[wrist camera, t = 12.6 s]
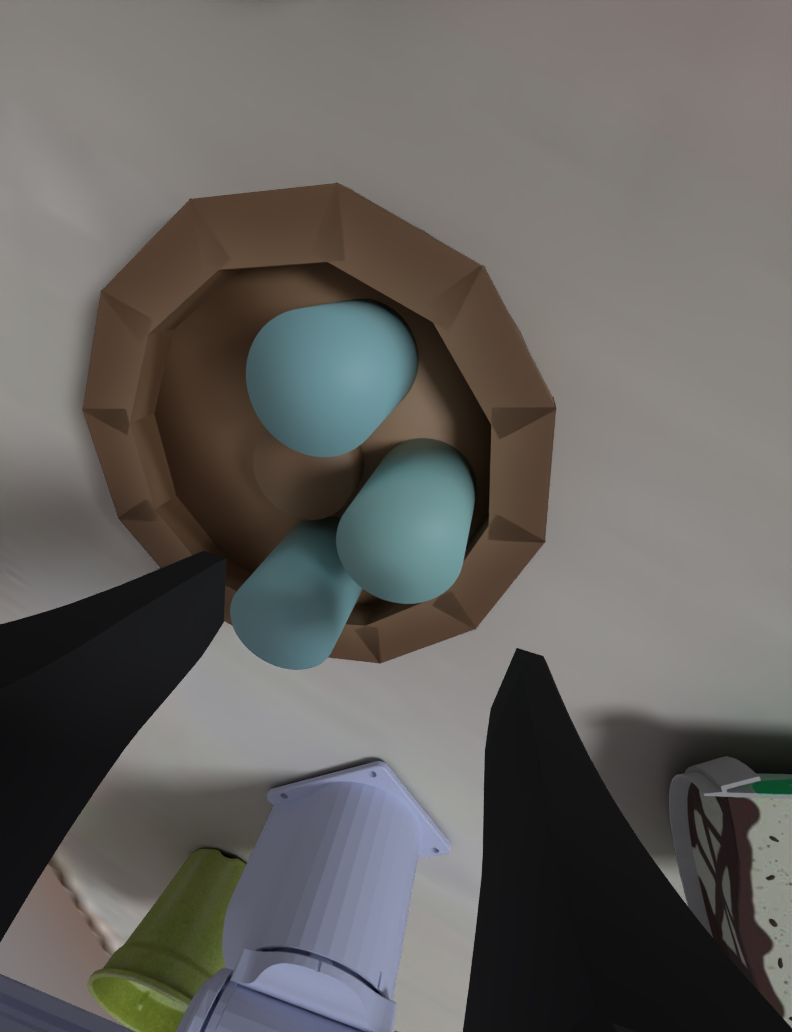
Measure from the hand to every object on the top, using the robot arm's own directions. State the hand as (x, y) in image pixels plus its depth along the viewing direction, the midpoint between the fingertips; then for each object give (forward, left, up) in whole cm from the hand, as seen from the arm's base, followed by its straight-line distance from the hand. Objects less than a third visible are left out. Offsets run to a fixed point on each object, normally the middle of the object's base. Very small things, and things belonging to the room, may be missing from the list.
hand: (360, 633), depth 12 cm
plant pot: (-31, -20, -10) cm, 39 cm away
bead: (+1, +5, -9) cm, 10 cm away
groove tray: (-3, +3, -10) cm, 11 cm away
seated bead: (-5, -1, -9) cm, 10 cm away
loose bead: (0, 0, -9) cm, 9 cm away
